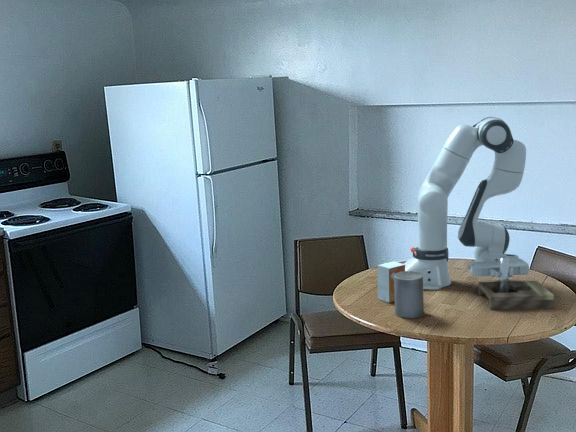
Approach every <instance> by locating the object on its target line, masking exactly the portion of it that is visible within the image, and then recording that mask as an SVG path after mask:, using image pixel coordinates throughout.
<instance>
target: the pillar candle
mask: <svg viewBox="0 0 576 432" xmlns="http://www.w3.org/2000/svg"><path fill="white" fill-rule="evenodd" d="M394 291H395V301H394V315H396V316H397V317H399V316H400V317H399V318H402V317H404V318H406V319H416V318H420V317H422V316H423V315H424V313H425V310H424V309H425V307H424V289H423V275H422V274H421V273H419V272H413V271H404V272H399V273H396V274H395V275H394Z"/></svg>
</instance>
